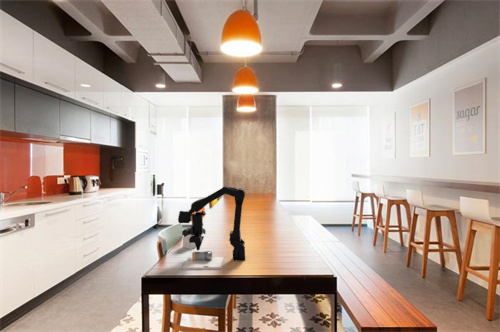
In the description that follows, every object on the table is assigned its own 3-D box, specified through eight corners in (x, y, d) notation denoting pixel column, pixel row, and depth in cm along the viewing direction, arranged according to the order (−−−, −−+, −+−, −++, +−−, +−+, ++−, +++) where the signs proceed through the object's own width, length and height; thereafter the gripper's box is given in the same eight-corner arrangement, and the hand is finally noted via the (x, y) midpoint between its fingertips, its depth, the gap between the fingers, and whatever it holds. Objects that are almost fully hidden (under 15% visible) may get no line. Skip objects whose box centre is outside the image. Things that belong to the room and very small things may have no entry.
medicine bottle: (191, 244, 187) (190, 226, 186) (198, 246, 182) (198, 228, 182) (182, 247, 181) (182, 228, 181) (189, 249, 177) (189, 230, 176)
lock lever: (212, 258, 158) (212, 251, 158) (211, 260, 154) (211, 253, 154) (193, 258, 158) (193, 251, 158) (192, 261, 154) (192, 253, 154)
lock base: (223, 258, 160) (223, 256, 160) (221, 268, 146) (221, 266, 146) (188, 259, 160) (188, 257, 160) (182, 269, 146) (182, 267, 146)
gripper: (186, 219, 169) (187, 245, 170) (179, 227, 151) (179, 256, 151) (205, 219, 169) (205, 244, 170) (200, 227, 151) (200, 256, 151)
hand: (198, 250), depth 161 cm, fingers closed
